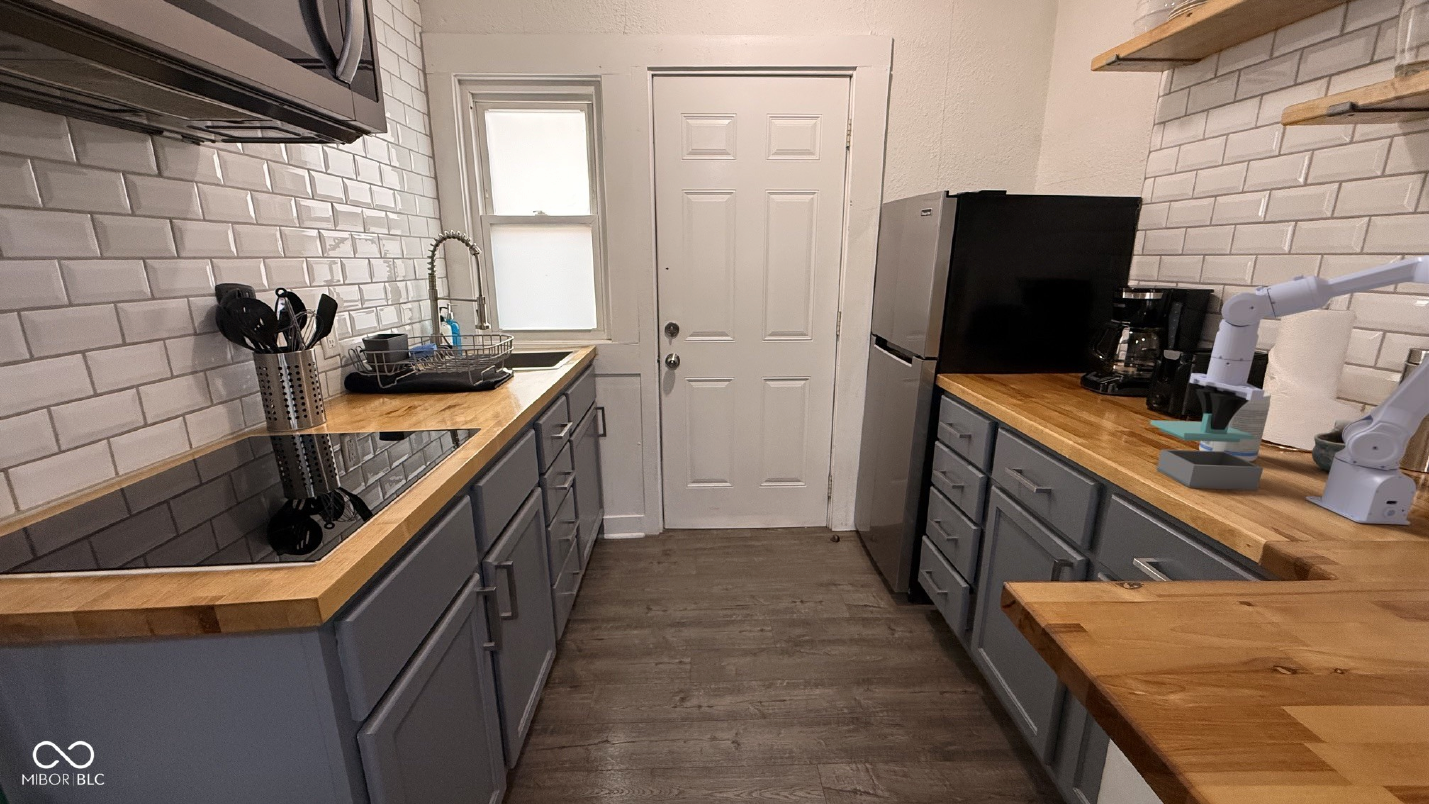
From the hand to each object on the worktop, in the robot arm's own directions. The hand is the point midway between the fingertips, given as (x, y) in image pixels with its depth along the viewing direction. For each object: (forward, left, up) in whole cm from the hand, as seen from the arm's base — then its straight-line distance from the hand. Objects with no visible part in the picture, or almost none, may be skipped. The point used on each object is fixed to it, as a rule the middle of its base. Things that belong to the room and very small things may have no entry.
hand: (1213, 427), depth 107 cm
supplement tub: (+14, -15, -11) cm, 23 cm away
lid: (+3, 0, -3) cm, 4 cm away
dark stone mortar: (+7, -31, -11) cm, 34 cm away
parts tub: (-1, 0, -11) cm, 11 cm away
